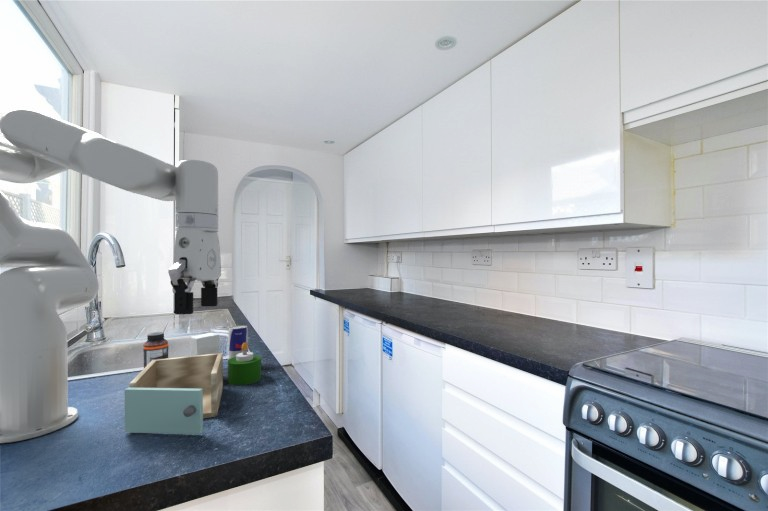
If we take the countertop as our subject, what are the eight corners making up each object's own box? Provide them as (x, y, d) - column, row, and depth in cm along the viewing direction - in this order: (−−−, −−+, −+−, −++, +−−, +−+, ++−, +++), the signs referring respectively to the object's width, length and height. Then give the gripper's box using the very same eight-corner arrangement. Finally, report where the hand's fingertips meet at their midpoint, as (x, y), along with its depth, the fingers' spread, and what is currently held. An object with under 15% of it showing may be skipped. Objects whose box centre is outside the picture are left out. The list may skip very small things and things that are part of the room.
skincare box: (212, 374, 95) (212, 332, 95) (220, 377, 93) (220, 334, 93) (189, 381, 90) (189, 336, 90) (197, 384, 88) (197, 338, 88)
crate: (129, 430, 65) (129, 383, 65) (152, 398, 80) (152, 360, 80) (216, 416, 70) (216, 372, 70) (223, 388, 85) (222, 352, 85)
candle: (233, 374, 95) (233, 339, 95) (264, 373, 96) (263, 338, 96) (223, 386, 87) (223, 347, 87) (256, 384, 88) (256, 345, 88)
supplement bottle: (146, 370, 99) (146, 332, 99) (170, 368, 102) (170, 330, 102) (140, 377, 94) (140, 336, 94) (165, 374, 96) (165, 334, 96)
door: (119, 435, 62) (119, 392, 62) (129, 429, 64) (128, 387, 64) (195, 437, 61) (195, 393, 61) (203, 431, 63) (202, 388, 63)
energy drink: (241, 370, 99) (240, 329, 99) (224, 369, 100) (224, 328, 100) (251, 364, 104) (251, 325, 104) (236, 363, 105) (235, 324, 105)
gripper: (193, 219, 59) (193, 317, 59) (234, 227, 76) (234, 303, 76) (149, 219, 59) (149, 317, 59) (200, 227, 76) (200, 303, 76)
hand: (197, 309), depth 68 cm, fingers open, 9 cm apart
